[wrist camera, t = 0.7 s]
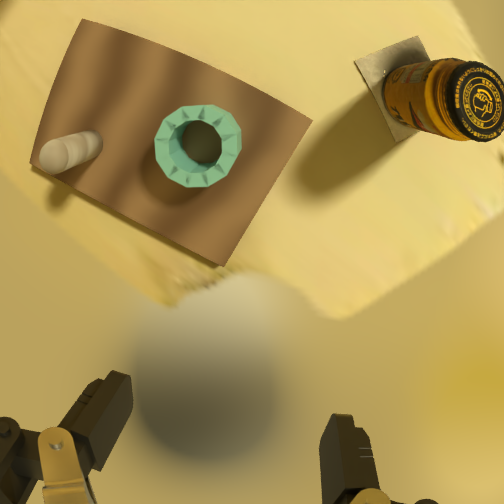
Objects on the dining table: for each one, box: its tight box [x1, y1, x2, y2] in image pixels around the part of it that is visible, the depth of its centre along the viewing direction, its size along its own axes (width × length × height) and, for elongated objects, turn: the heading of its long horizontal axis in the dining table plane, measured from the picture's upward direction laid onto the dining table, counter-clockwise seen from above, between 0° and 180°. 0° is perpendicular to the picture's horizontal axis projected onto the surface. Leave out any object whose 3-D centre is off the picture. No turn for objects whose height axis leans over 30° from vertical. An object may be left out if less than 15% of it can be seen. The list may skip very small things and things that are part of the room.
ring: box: [154, 105, 242, 187], centre depth 24 cm, size 6×6×4 cm
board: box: [29, 19, 313, 267], centre depth 24 cm, size 24×16×9 cm, turn 61°
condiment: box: [355, 36, 504, 143], centre depth 19 cm, size 7×8×12 cm
